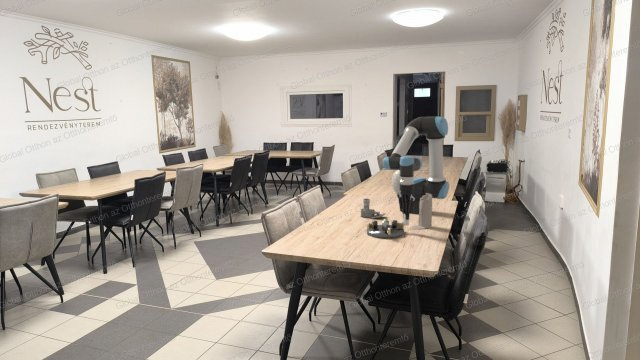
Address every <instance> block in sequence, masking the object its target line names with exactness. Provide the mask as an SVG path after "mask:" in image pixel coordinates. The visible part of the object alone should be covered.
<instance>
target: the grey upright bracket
mask: <svg viewBox="0 0 640 360" xmlns="http://www.w3.org/2000/svg"><path fill="white" fill-rule="evenodd" d="M432 212H433V198H432V195H431V194H429V193H426V195H423V197H422V198H420V211H419V214H418V224H417V225H413V226H411V227H409V229H411V230H425V228H426V229H431V228H432V227H433V226H432V221H433V219H432V218H433V216H432V215H433V213H432ZM430 227H431V228H430Z"/></svg>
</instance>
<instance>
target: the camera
mask: <svg viewBox="0 0 640 360" xmlns="http://www.w3.org/2000/svg"><path fill="white" fill-rule="evenodd" d="M362 203H363V208H361V209H360V218H368V219H378V218H382V217H383V216H384V217H385V215H386V213H385V212H384V213H383V212H382V213H380V211H376V210H375V209H373V208H370V203H371V199H370V198H364V199H363V200H362Z"/></svg>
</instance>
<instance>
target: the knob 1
mask: <svg viewBox="0 0 640 360" xmlns="http://www.w3.org/2000/svg"><path fill="white" fill-rule="evenodd" d="M378 225H379V224H378V220H372V221H371V222H367V223H366V230H367V229H372V228H373V229H377V228H378Z"/></svg>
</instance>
